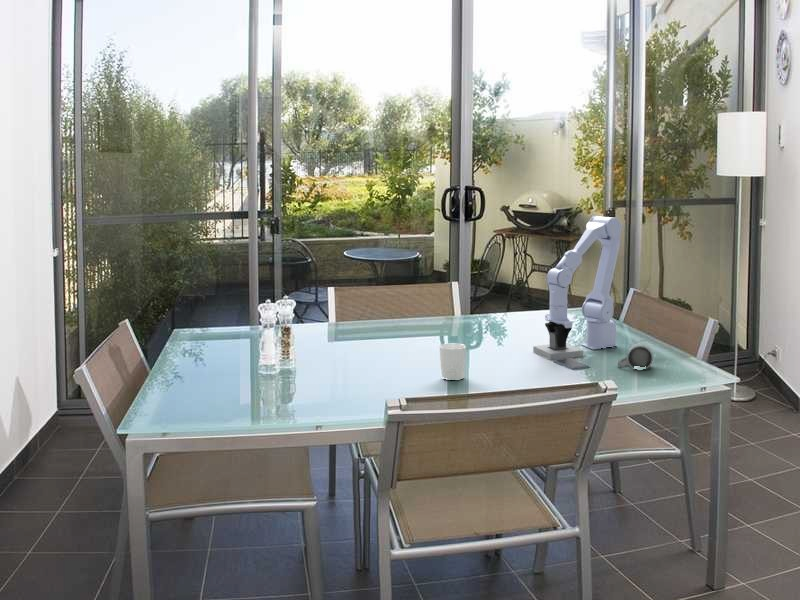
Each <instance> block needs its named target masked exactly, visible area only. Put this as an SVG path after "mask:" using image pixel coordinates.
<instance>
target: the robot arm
mask: <svg viewBox="0 0 800 600" xmlns="http://www.w3.org/2000/svg"><path fill="white" fill-rule="evenodd" d="M585 225H586V229H585V230H584V232H583V234H582V235H581V237H580V238H579V240H578V241H577V243H576V244H575V246H574V247H573V249H569V250H567V251H565V253H564V254H563V256H562V258H561V259H560V260H559V262H558V263H557V264H556V265H555V267H553V268H551V269H549V270H548V272H547V274H546V276H545V281H546V283H547V285H548V290H549V313H547V314H546V313H545V314H544V319H545V321H546V322H545V323H544V326H545V328H546V329H547V332H548V335H549V336H550V332H556V335H557V343H558V347H565V344H566V343H567V341H568V340H567V339H568V337H569V334H570V332H571V331H572V329H573V322H572V321H571V320H570V319H569V318H568V286H569V285H571V283H572V281H573V276H574V272H575V271H576V270H577V268H578V267H579V266H580V265H581V264H582V262H583V258H582V257H583V255H584V254H585V253H586V252H587V250H588V249H589V248H590V247H591V246H592V245H593V243H594V242H595V241H597V240H598V241H599V242H600V243H601V245H602V247H601V253H600V257H599V261H598V266H597V271H596V276H595V280H594V283H593V290H592V291H590V292H589V293H588V294H587V295H586V296H585V300H584V302H583V304H582V306H581V313H582V315H583V317H584V319H585V321H586V336H585V338H586V339H585V340H586V342H584V343H580V345H581V346H583V347H585V348H588V349H591V350H601V348H603V349H607V348H606V347H612V346H617V347H618V345H617V327H616V324H615V321H614V320H612V318H613V317H614V304H615V303H614V302H615V301H614V299H613V297H612V296H611V295H610V293H611V292H610V291H611V287H612V282H613V277H614V274H615V269H616V266H617V265H616V264H617V260H618V255H619V251H620V247H621V235H622V231H623V227H624V226H623V225H622V222H621V220H620V219H619V218H617V217H615V216H614V217H609V216H601V215H600V216H599V215H592V217H591V218H590V219H589V220H588V222H587V223H586V224H585ZM612 348H613V347H612Z"/></svg>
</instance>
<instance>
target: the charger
mask: <svg viewBox="0 0 800 600" xmlns="http://www.w3.org/2000/svg"><path fill="white" fill-rule="evenodd" d="M549 344H550V349H552V350H554V351H557V350H566V344H565V347H558V343H557V335H556V332H550V335H549Z"/></svg>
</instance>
